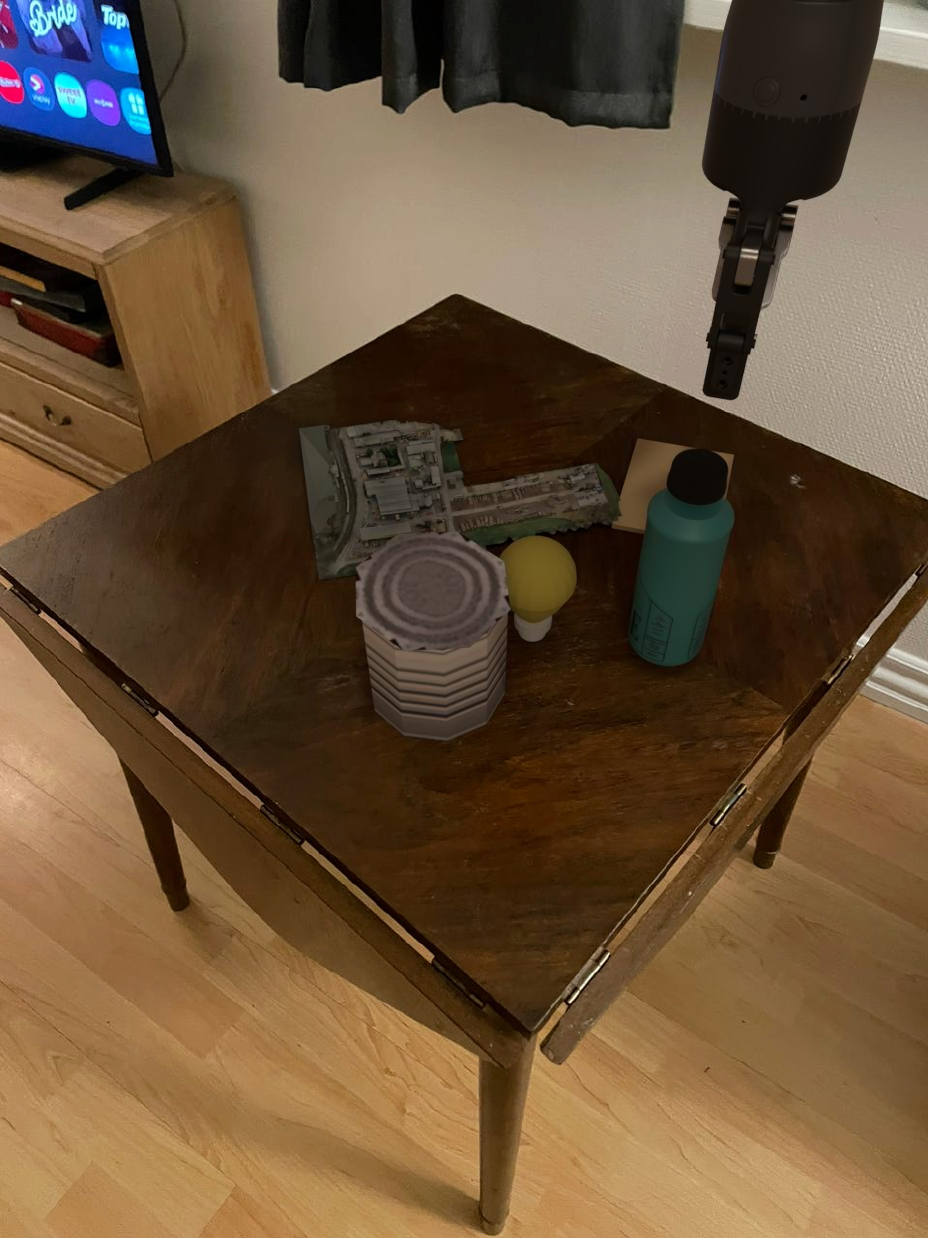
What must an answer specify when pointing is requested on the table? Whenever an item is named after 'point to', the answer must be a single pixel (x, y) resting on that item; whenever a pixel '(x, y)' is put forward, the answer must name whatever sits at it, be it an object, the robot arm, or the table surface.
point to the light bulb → (537, 583)
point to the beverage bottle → (681, 559)
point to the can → (434, 632)
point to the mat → (649, 481)
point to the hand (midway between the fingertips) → (729, 359)
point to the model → (430, 493)
